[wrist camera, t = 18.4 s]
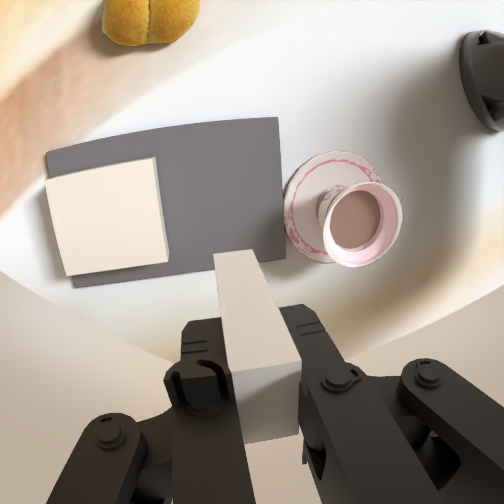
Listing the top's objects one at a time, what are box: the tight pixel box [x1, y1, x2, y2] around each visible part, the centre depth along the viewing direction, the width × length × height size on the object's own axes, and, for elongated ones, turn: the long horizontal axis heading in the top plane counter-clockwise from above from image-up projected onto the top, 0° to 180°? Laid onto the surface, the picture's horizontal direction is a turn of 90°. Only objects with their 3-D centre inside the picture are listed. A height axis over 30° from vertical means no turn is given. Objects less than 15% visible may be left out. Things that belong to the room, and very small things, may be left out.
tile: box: [45, 157, 169, 276], centre depth 26 cm, size 9×3×10 cm
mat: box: [46, 117, 285, 288], centre depth 28 cm, size 14×22×1 cm, turn 95°
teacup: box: [283, 151, 403, 267], centre depth 29 cm, size 12×12×6 cm
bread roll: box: [102, 0, 201, 46], centre depth 20 cm, size 8×9×4 cm
